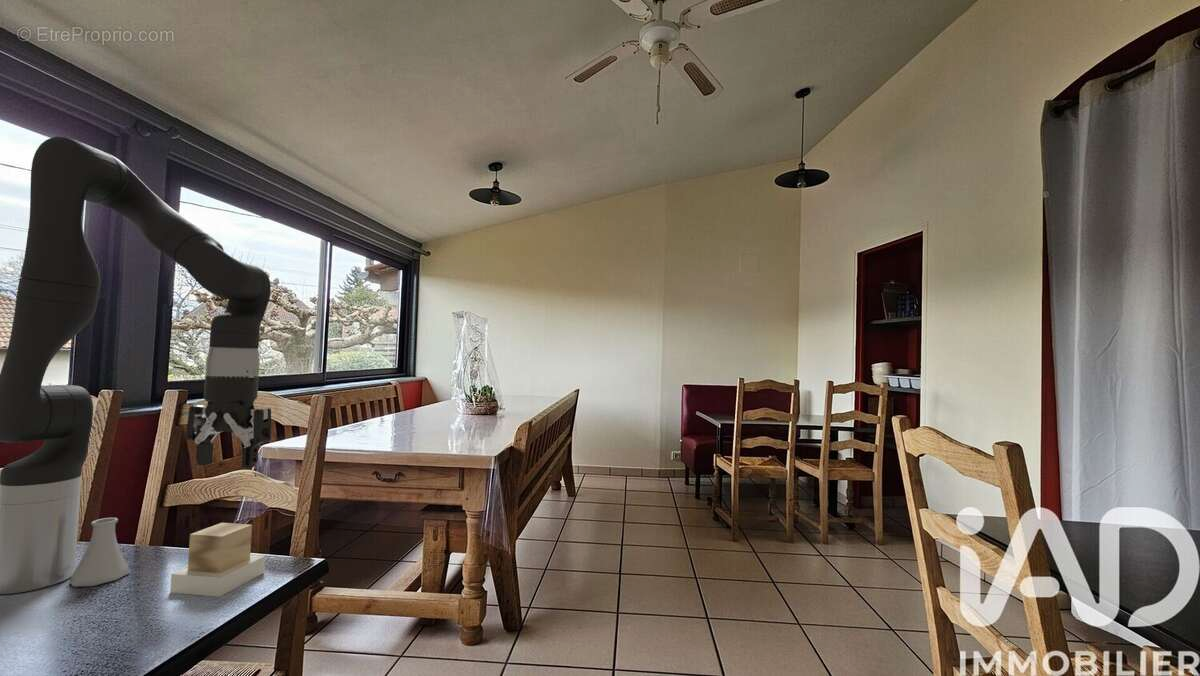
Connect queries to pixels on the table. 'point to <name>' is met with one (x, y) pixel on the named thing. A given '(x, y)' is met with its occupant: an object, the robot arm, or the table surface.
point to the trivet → (216, 578)
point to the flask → (101, 557)
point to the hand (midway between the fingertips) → (226, 466)
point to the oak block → (219, 547)
